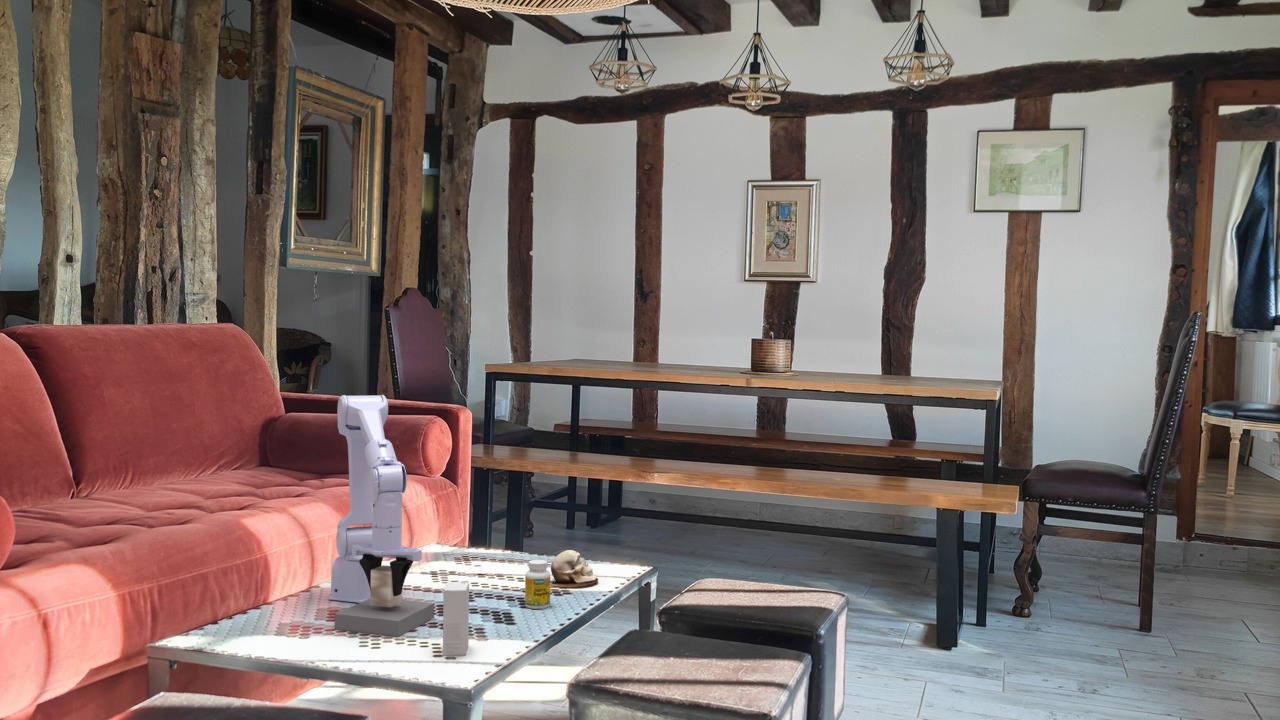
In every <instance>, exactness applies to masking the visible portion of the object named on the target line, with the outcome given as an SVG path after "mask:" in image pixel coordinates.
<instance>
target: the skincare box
mask: <svg viewBox="0 0 1280 720" xmlns="http://www.w3.org/2000/svg"><path fill="white" fill-rule="evenodd" d="M442 599H443V600H442V601H443V609H442V610H443V611H442V613H443V615H442V624H443V625H442V656H447V657H448V656H450V657H451V656H458V657H459V656H462V657H463V656H466V655H467V653H468V652H467V651H468V648H469V647H468V646H469V637H470V636H469V634H470V633H469V629H470V628H469V623H470V622H469V621H470V619H469V618H470V617H469V616H470V615H469V613H470V610H469V608H470V583H469V581H467V582H466V581H463V582H461V581H449V582H448V581H447V582H446V583H445V587H444V589H443V598H442Z"/></svg>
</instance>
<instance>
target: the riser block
mask: <svg viewBox="0 0 1280 720" xmlns="http://www.w3.org/2000/svg"><path fill="white" fill-rule="evenodd" d="M434 618H435V603H434V602H428V601H427V602H426V601H415V600H407V599H402V602H401V603H399V604H397V605H395V606H393V607H382V606H373V605H370V599H367V600H365V601H363V602H360V603H356V604H354V605H352V606H349V607H347V608H345V609H343V610H341V611H338V612H336V613H334V630H337V631H338V630H339V631H346V632H347V631H348V632H356V633H364V634H373V635H382V636H390V637H396V638H397V637H400V636H403V635H404V634H406V633H409V632H410V631H412V630H414V629H416V628H417V627H419V626H421V625H423V624H425V623H427V622H429V621H430V620H433V619H434Z"/></svg>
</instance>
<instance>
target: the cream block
mask: <svg viewBox="0 0 1280 720" xmlns="http://www.w3.org/2000/svg"><path fill="white" fill-rule="evenodd" d="M402 590H403V588H402ZM402 600H403V591H402V592H401V594H400V595H398V596H393V579H392V571H391V567H390V565H387V564H386V565H384V564H383V565H381V566H380V567H377V568H375V569H372V570H371V595H370V605H373V606H382V607H393V606H395V605H397V604H399V603H401V602H402Z"/></svg>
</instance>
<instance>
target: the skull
mask: <svg viewBox="0 0 1280 720" xmlns="http://www.w3.org/2000/svg"><path fill="white" fill-rule="evenodd" d="M550 572H551V576H552V578H553V579H554V581H553V582H551V583H550V587H555V588H576V587H577V588H579V587H585V586H590V585H592V584H596V583H597V582H598V581H599V578H597V576H596V575H595V574H594V573H593V568H592V567H591V565H589V563H587V561H586V559H585V558H584V557H581V553H579V552H578V551H575V550H572V549H566V550H564V551H561V552H560V553H558V554H557V555H556V556H555V557H554V558H553V559H552V560H551V563H550Z"/></svg>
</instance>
